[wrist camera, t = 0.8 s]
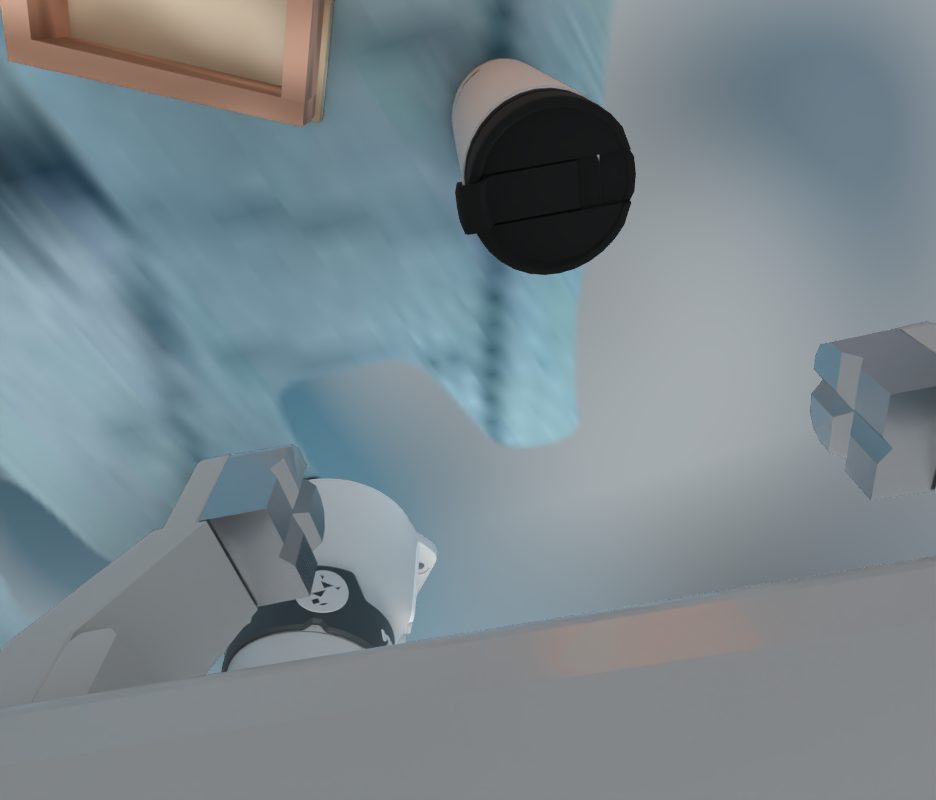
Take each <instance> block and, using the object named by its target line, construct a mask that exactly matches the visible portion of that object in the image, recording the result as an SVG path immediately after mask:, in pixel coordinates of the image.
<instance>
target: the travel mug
mask: <svg viewBox="0 0 936 800" xmlns="http://www.w3.org/2000/svg"><path fill="white" fill-rule="evenodd" d="M451 117H452V127H453V133H454V138H455V144H456V149H457V155H458V161H459V166H460V172H461V177H462V182H458V183H457V186H456V192H455V194H456V202H457V209H458V214H459V219H460V223H461V225H462V227H463V230H464V232H465V234H468V235H469V234H476V233H477V235H478V236H479V238H480V240H481V241H482V243H483V244H484V245H485V247H486V248H487V249H488V251H489V252H490V253H491V254H493V255H494V256H495V257H496V258H497V259H498V260H500V261H501V262H502V263H504V264H506V265H508V266H510V267H512V268H513V269H516V270H519V271H522V272H526V273H529V274H541V275H547V274H557V273H562V272H565V271H569V270H572V269H575V268H577V267H579V266H581V265H583V264H585V263H587V262H589V261H590V260H592V259H593V258H594V257H596V256H597V255H598V254H600V253H601V252H602V251H604V249H605V248H606V247H607V246H608V245H609V244H610V243H611V242H612V241H613V240H614V239H615V237H616V236H617V235H618V233H619V232H620V230H621V229H622V227H623V226H624V224H625V221H626V217H627V214H628V211H629V208H630V205H631V201H630V199H631V197H632V195H633V193H634V188H635V175H636V172H635V162H634V156H633V154H632V153H631V151H630V146H629V143H628V140H627V138H626V135H625V133H624V130H623V127H622V126H621V125H620V124H619V122H618V121H617V120H616V119H615V118H614V117H613V116H612V115H611V114H610V113H609V112H607V111H606V110H605V109H603V108H602V107H600V106H599V105H598V104H596V103H595V102H593V101H592V100H590V99H589V98H587V97H586V96H585V95H583V94H581V93H579V92H578V91H576V90H574V89H572V88H570V87H569V86H567V85H565V84H563V83H561V82H559V81H558V80H556V79H554V78H552V77H550V76H548V75H547V74H545V73H543V72H541V71H539V70H537V69H536V68H534V67H532V66H530V65H528V64H526V63H524V62H522V61H519V60H517V59H511V58H496V59H492V60H489V61H486V62H484V63H482V64H480V65H478V66H476V67H475V68H474V69H473V70H472V71H470V72H469V73H468V74H467V75H466V77H465V78H464V79H463V80H462V82H461V83H460V85H459V87H458V89H457V91H456V93H455V97H454V100H453V104H452V112H451ZM462 183H463V185H462Z"/></svg>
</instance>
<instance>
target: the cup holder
mask: <svg viewBox="0 0 936 800" xmlns="http://www.w3.org/2000/svg"><path fill="white" fill-rule="evenodd" d="M0 4H1V12H2V19H3V26H4V34H5V41H6V49H7V56H8V61H11V62H16V63H20V64H25V65H29V66H34V67H38V68H42V69H47V70H51V71H56V72H60V73H65V74H69V75H73V76H78V77H82V78H87V79H91V80H96V81H100V82H105V83H109V84H113V85H118V86H122V87H127V88H131V89H136V90H140V91H144V92H149V93H153V94H158V95H162V96H167V97H171V98H175V99H180V100H184V101H189V102H193V103H198V104H202V105H207V106H211V107H215V108H220V109H224V110H229V111H233V112H238V113H242V114H246V115H251V116H255V117H260V118H264V119H269V120H273V121H278V122H282V123H286V124H291V125H295V126H300V127H303V126H304V125H305V124H307V123H308V122H309V121H312V122H317V123H320V122H321V121H322V120H323V112H324V102H325V91H326V81H327V71H328V60H329V50H330V40H331V29H332V19H333V9H334V0H0Z"/></svg>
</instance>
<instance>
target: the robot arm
mask: <svg viewBox="0 0 936 800" xmlns="http://www.w3.org/2000/svg"><path fill="white" fill-rule="evenodd" d="M814 370H815V371H816V372H817V373H818V374H819V376H820V377H821V378H822V379H823V380H822V381H821V383H820V384H819V385H818V386H817V388H816V389H815V390H814V391H813V392H812V394H811V405H810V414H811V419H812V423H813V428H814V431H815V433H816V435H817V437H818V439H819V441H820V442H821V443H822V444H823V446H824V447H825V448H826V449H827V451H828V452H830V453H833V454H835V455H838V456H840V457H843V458H845V459H846V467H845V471H846V473H847V474H848V475H849V476H850V477H851V478H852V480H854V482H855V483H856V484H857V485H858V486H859V488H860V489H861V490H862V491H863V492H864V493H865V494H866V496H867V497H868V498H869V499H870V500H878V499H885V498H892V497H898V496H905V495H911V494H919V493H926V492H933V491H934V494H935V495H936V323H935V322H929V321H925V322H920V323H916V324H911V325H907V326H903V327H898V328H894V329H890V330H886V331H881V332H877V333H872V334H868V335H863V336H858V337H853V338H849V339H844V340H839V341H835V342H830V343H825V344H821V345H820V346H819V349H818V351H817V353H816V356H815V364H814ZM306 465H307V464H306V462H305V460H304V458H303V456H302V454H301V452H300V450H299V448H298V447H296V446H295V445H293V444H290V445H284V446H278V447H272V448H266V449H260V450H255V451H249V452H243V453H237V454H234V455H225V456H220V457H215V458H210V459H205V460H203V461H201V462H199V463H198V464H197V466H196V468H195V469H194V471H193V473H192V475H191V477H190V479H189V481H188V483H187V484H186V486H185V488H184V490H183V492H182V494H181V496H180V497H179V499H178V501H177V503H176V505H175V507H174V509H173V511H172V512H171V514H170V516H169V518H168V520H167V522H166V524H165V525H164V527H163V529H158V530H153V531H152V532H151V533H149V534H148V535H147V536H145V537H144V538H143V539H141V540H140V541H139V542H138V543H136V544H135V545H134V546H132V547H131V548H130V549H128V550H127V551H126V552H125V553H123V554H122V555H121V556H119V557H118V558H117V559H115V560H114V561H113V562H112V563H110V564H109V565H108V566H106V567H105V568H104V569H102V570H101V571H100V572H99V573H97V574H96V575H95V576H93V577H92V578H91V579H90V580H88V581H87V582H86V583H84V584H83V585H82V586H80V587H79V588H78V589H76V590H75V591H74V592H73V593H71V594H70V595H69V596H67V597H66V598H65V599H63V600H62V601H61V602H60V603H58V604H57V605H56V606H54V607H53V608H52V609H51V610H49V611H48V612H47V613H46V614H44V615H43V616H42V617H40V618H39V619H38V620H36V621H35V622H34V623H32V624H31V625H30V626H28V627H27V628H26V629H25V630H23V631H22V632H21V633H19V634H18V635H17V636H15V637H14V638H13V639H12V640H10V641H9V642H8V643H7V644H6V645H5V647H4V648H3V650H2V651H1V653H0V800H936V556H932V557H926V558H920V559H914V560H908V561H902V562H895V563H889V564H883V565H877V566H871V567H865V568H859V569H852V570H846V571H840V572H834V573H828V574H821V575H816V576H809V577H803V578H797V579H791V580H785V581H778V582H772V583H766V584H760V585H753V586H747V587H741V588H735V589H729V590H723V591H716V592H711V593H704V594H698V595H692V596H686V597H680V598H674V599H668V600H662V601H655V602H650V603H643V604H638V605H631V606H625V607H619V608H613V609H607V610H601V611H596V612H589V613H583V614H577V615H570V616H565V617H558V618H552V619H546V620H540V621H534V622H528V623H522V624H517V625H510V626H504V627H498V628H492V629H485V630H480V631H473V632H467V633H461V634H455V635H449V636H443V637H437V638H430V639H425V640H418V641H412V642H406V636H407V634H410V632H411V629H412V624H413V620H414V616H415V607H416V596H417V594H418V592H419V591H420V589H421V587H422V586H423V584H424V582H425V580H426V578H427V577H428V575H429V573H430V571H431V569H432V568H433V566H434V565H435V563H436V560H437V553H438V549H437V547H436V546H435V545H434V543H432V542H431V541H430V540H429V539H427V538H426V537H424V536H423V535H421V534H420V533H418V532H417V531H416V529H415V528H414V527H413V525H412V524H411V522H410V520H409V518H408V517H407V515H406V514H405V512H404V511H403V510H402V509H401V507H400V506H399V505H398V504H397V503H395V502H394V501H393V500H392V499H391V498H389V497H388V496H387V495H385V494H383V493H382V492H380V491H378V490H376V489H374V488H372V487H369V486H367V485H364V484H361V483H357V482H354V481H350V480H343V479H334V478H333V479H332V478H320V479H310V480H306V479H305V478H303V476H304V472H305V469H306ZM419 562H420V563H419ZM224 651H225V653H224V655H225V658H224V662H223V666H222V672H221V673H215V674H209V675H206V673H207V672H208V671H209V670H210V669H211V667H212V666H213V665H214V664H215V662H216V661H217V660H218V659H219V657H220V656H221V655H222V654H223V652H224Z"/></svg>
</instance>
